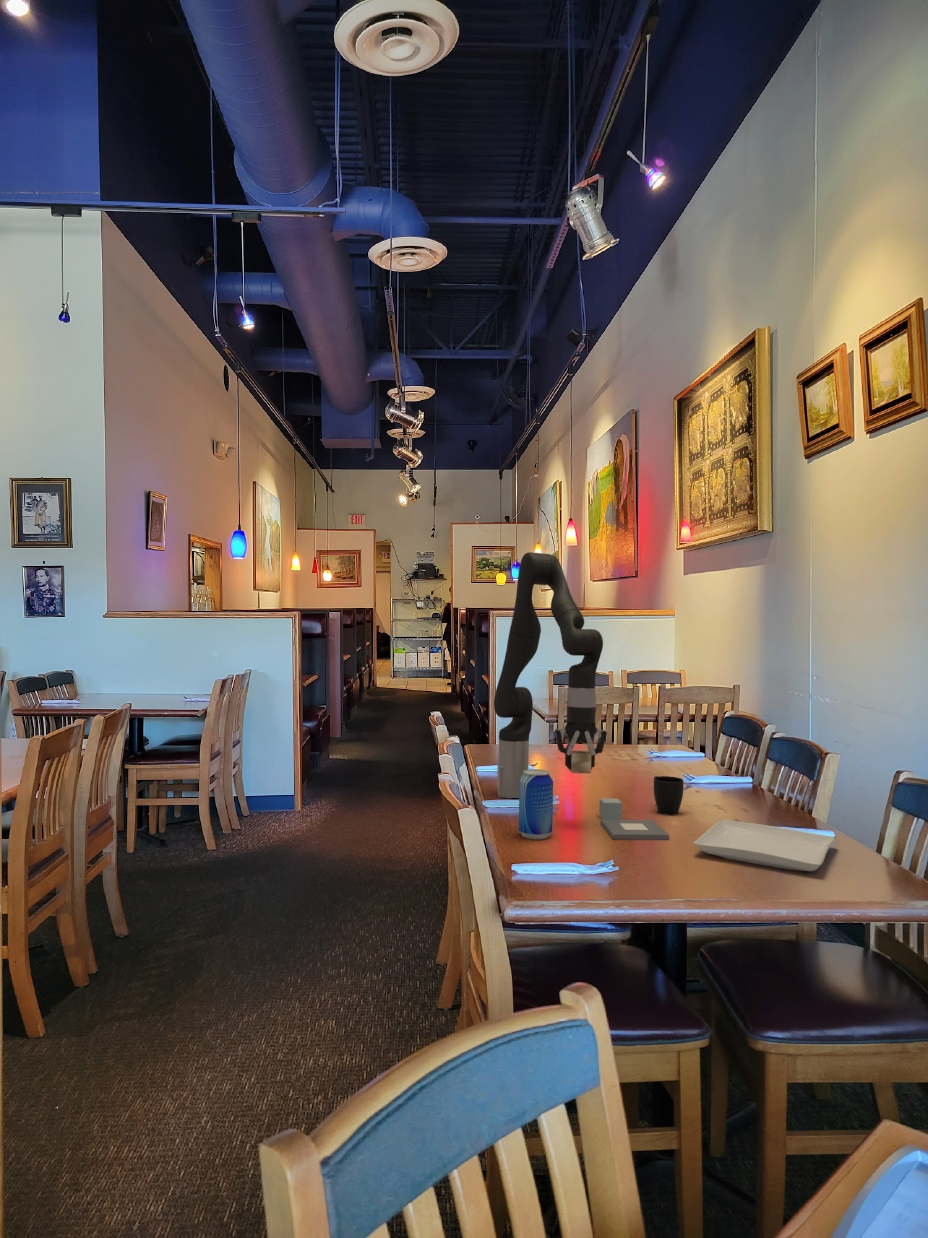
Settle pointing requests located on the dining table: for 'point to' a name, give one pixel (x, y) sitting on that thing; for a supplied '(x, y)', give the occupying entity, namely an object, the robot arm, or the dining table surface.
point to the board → (634, 829)
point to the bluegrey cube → (610, 809)
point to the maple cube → (580, 762)
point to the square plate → (765, 845)
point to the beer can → (535, 804)
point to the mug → (668, 794)
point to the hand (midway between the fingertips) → (579, 768)
